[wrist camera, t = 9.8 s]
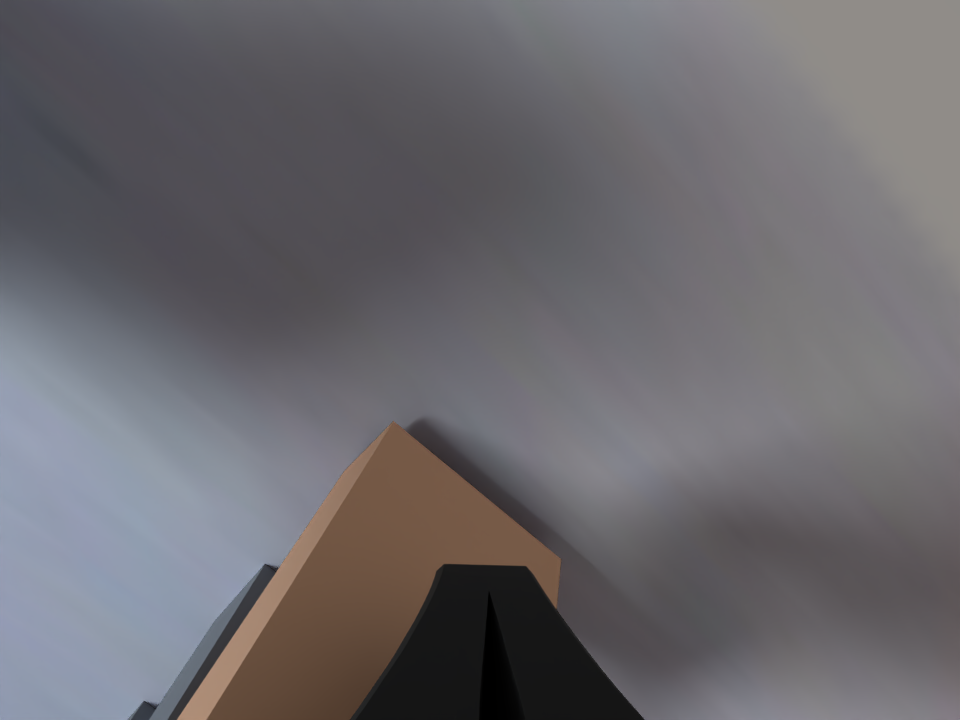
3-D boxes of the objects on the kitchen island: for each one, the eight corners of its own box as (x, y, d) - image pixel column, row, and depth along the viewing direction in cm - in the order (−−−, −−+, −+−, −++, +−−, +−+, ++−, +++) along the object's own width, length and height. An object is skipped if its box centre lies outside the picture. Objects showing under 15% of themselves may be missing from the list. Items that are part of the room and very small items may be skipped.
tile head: (344, 471, 13) (110, 819, 7) (393, 421, 12) (174, 769, 6) (504, 597, 14) (422, 1013, 8) (561, 559, 13) (521, 996, 7)
